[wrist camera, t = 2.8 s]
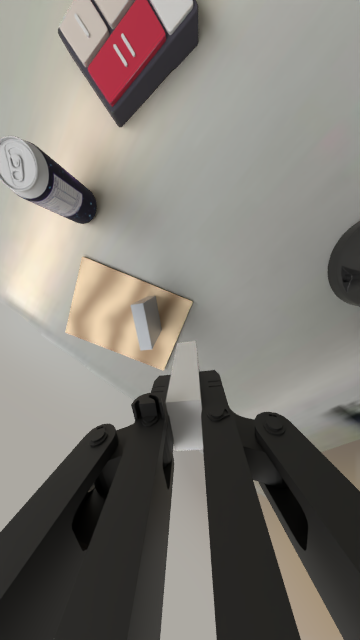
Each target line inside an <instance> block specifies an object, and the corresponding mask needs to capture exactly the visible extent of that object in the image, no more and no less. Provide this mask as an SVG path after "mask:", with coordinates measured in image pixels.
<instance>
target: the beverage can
mask: <svg viewBox="0 0 360 640" xmlns="http://www.w3.org/2000/svg"><path fill="white" fill-rule="evenodd" d="M0 179H1V181H2V182H3V183H4V184H5V185H6V186H8V187H9V188H11V189H12V190H13V192H15V193H16V194H17V195H18V196H20V197H22V198H24V199H26V200H28V201H30V202H33V203H35V204H37V205H39V206H41V207H44V208H46V209H48V210H50V211H52V212H55V213H57V214H59V215H61V216H64V217H66V218H68V219H70V220H72V221H75V222H77V223H81V224H84V223H88V222H90V221H91V220H92V219H93V218H94V216H95V214H96V209H97V205H96V200H95V197H94V195H93V194H92V192H91V191H90V190H89V189H88V188H86V187H85V186H84V185H83V184H81V183H80V182H79V181H78V180H77V179H75V178H74V177H73V176H72V175H71V174H69V173H68V172H67V171H66V170H65V169H63V168H62V167H61V166H60V165H59V164H57V163H56V162H55V161H54V160H52V159H51V158H50V157H49V156H48V155H46V154H45V153H44V152H43V151H42V150H40V149H39V148H38V147H37V146H35V145H34V144H32V143H30V142H28V141H24V140H22V139H20V138H18V137H15V136H6V137H3V138H1V139H0Z"/></svg>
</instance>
